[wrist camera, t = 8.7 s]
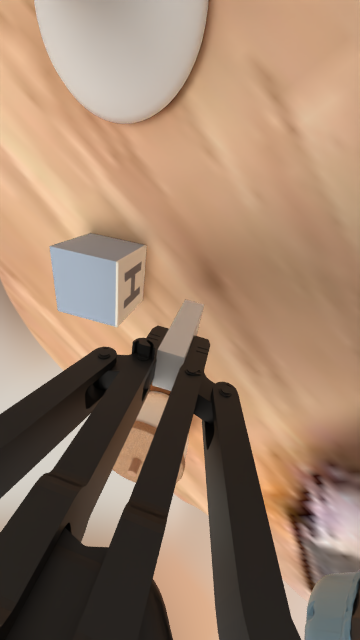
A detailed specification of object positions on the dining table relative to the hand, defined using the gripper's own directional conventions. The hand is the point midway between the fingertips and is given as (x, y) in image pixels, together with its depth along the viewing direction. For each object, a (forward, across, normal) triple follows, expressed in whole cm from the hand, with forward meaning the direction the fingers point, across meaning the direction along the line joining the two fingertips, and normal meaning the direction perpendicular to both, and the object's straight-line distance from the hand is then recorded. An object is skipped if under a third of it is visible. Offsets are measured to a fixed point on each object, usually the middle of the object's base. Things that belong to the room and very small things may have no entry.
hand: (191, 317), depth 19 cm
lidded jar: (+7, +2, +19) cm, 20 cm away
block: (+4, +6, 0) cm, 7 cm away
